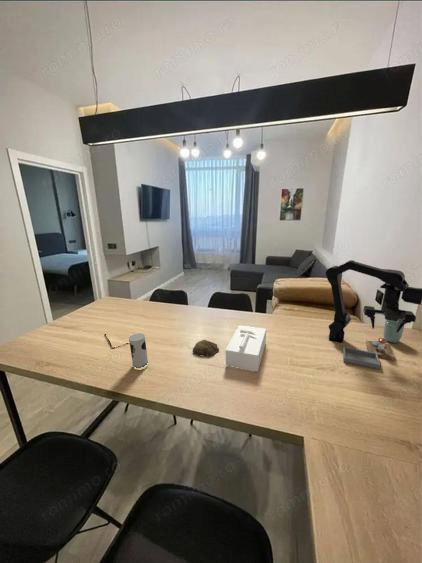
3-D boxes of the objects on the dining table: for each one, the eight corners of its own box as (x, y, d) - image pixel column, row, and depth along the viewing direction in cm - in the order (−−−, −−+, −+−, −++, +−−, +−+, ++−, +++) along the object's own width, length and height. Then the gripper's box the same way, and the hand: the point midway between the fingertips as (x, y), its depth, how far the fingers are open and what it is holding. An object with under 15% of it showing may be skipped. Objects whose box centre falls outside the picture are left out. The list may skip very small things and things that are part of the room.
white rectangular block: (265, 343, 127) (266, 324, 124) (257, 372, 105) (258, 350, 102) (238, 339, 132) (238, 321, 129) (225, 366, 110) (225, 345, 107)
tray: (343, 362, 109) (344, 357, 109) (342, 351, 118) (343, 346, 117) (379, 369, 104) (380, 364, 103) (375, 357, 112) (376, 353, 111)
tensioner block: (368, 355, 114) (369, 350, 113) (365, 342, 124) (366, 338, 124) (394, 360, 110) (395, 355, 109) (389, 346, 120) (390, 342, 119)
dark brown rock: (189, 353, 121) (188, 344, 119) (201, 341, 131) (201, 333, 130) (212, 360, 115) (211, 351, 113) (223, 347, 125) (222, 338, 124)
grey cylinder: (149, 361, 115) (146, 333, 110) (146, 370, 108) (142, 340, 104) (135, 361, 115) (131, 333, 111) (131, 370, 108) (126, 341, 104)
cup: (403, 345, 121) (407, 327, 118) (386, 343, 123) (389, 326, 120) (395, 337, 128) (399, 320, 126) (379, 336, 130) (382, 319, 127)
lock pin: (376, 354, 114) (379, 340, 112) (375, 351, 117) (378, 337, 115) (384, 356, 113) (387, 342, 111) (383, 352, 116) (386, 338, 113)
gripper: (369, 302, 104) (363, 334, 108) (424, 308, 96) (415, 343, 101) (365, 294, 114) (360, 323, 118) (415, 299, 106) (407, 331, 110)
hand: (384, 330), depth 112 cm, fingers open, 9 cm apart
